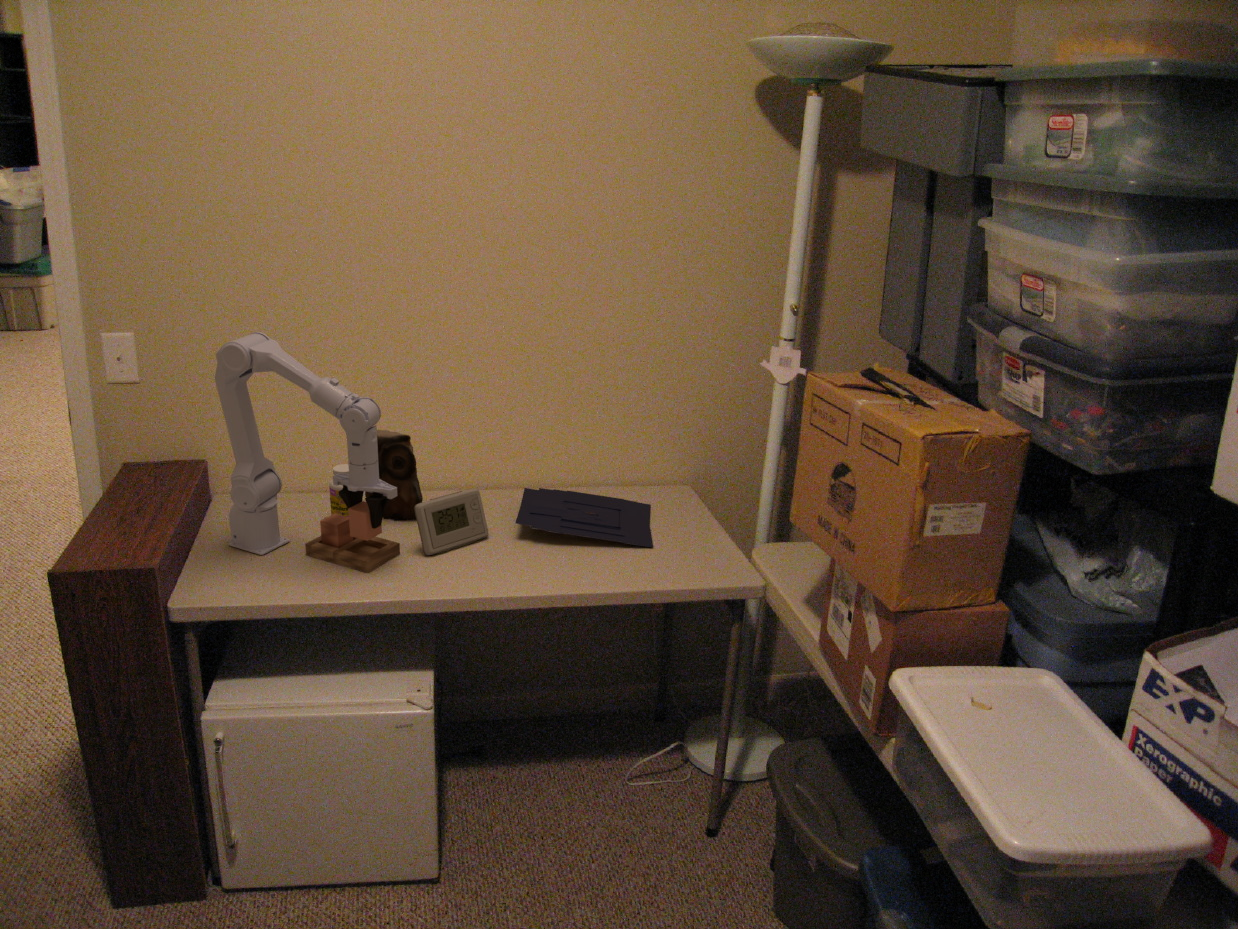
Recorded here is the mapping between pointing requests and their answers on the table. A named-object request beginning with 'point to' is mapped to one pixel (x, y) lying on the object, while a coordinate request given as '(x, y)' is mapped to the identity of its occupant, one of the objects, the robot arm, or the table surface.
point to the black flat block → (586, 515)
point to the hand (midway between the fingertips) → (366, 524)
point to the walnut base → (350, 546)
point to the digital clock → (451, 521)
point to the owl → (398, 474)
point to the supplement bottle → (335, 499)
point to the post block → (362, 522)
